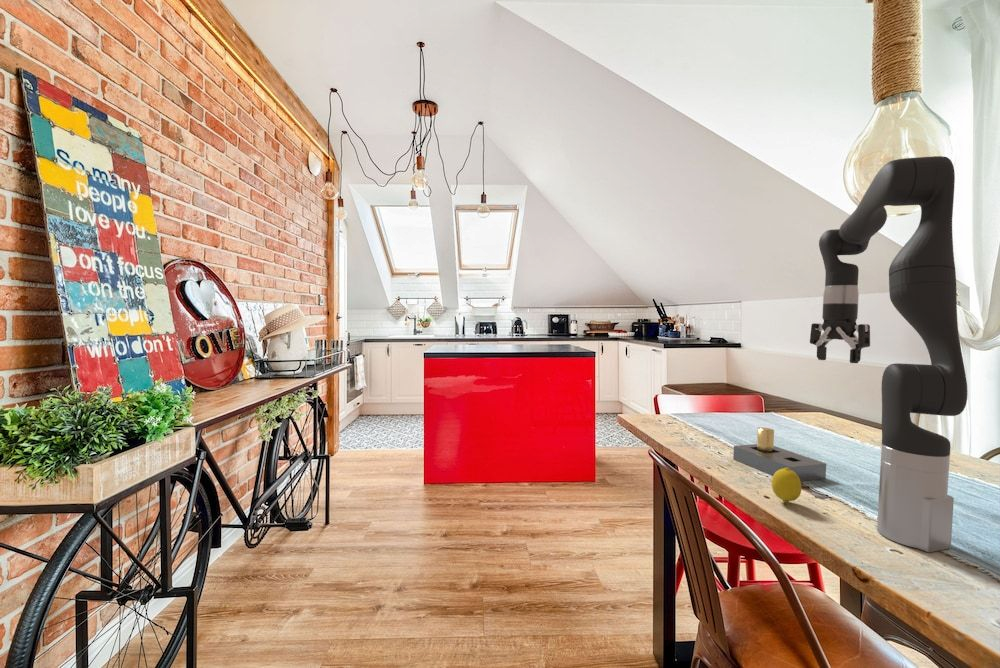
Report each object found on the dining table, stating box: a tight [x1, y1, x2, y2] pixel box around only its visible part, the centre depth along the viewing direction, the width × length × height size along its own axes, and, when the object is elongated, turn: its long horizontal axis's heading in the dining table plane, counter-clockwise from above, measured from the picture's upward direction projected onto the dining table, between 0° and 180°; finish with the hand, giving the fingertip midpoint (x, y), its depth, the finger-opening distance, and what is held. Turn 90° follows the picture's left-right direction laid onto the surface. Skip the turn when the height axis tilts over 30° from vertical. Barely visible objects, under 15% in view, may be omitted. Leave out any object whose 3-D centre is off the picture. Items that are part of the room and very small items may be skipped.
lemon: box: [771, 468, 802, 504], centre depth 95 cm, size 6×6×8 cm
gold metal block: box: [756, 426, 775, 454], centre depth 121 cm, size 4×4×10 cm
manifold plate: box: [732, 443, 827, 482], centre depth 117 cm, size 18×12×4 cm, turn 16°
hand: (837, 361), depth 117 cm, fingers open, 8 cm apart
